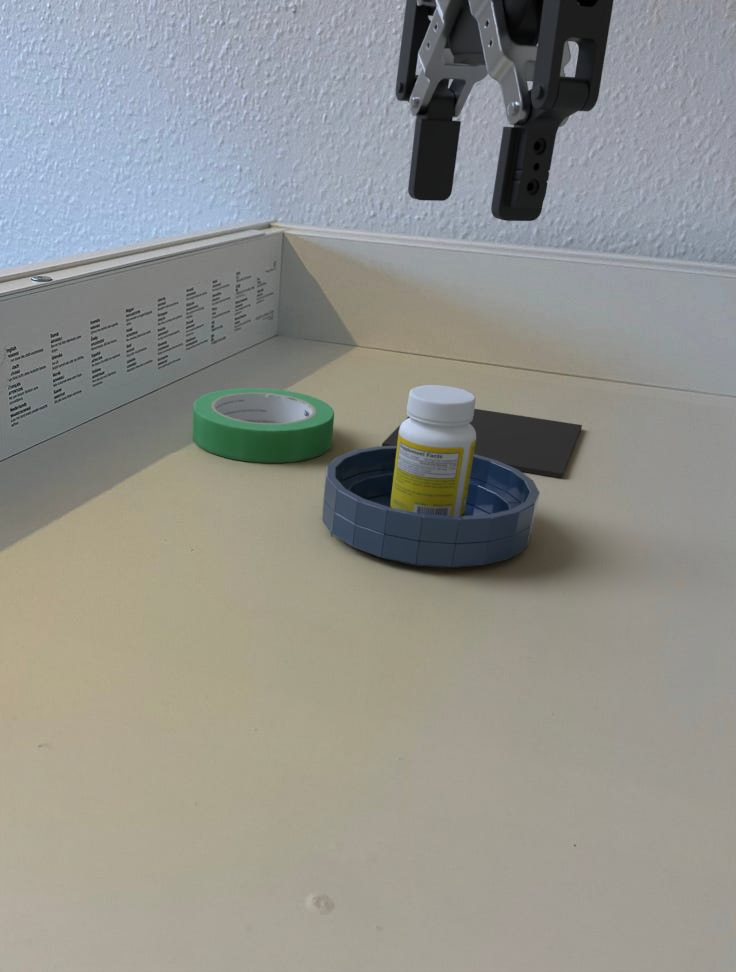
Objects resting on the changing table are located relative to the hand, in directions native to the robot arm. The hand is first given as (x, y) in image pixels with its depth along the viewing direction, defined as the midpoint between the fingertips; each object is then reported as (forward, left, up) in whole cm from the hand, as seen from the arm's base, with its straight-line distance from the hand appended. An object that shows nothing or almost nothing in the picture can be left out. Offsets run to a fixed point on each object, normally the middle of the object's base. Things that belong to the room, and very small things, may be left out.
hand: (468, 209), depth 48 cm
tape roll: (+17, -19, -20) cm, 32 cm away
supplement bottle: (+1, -7, -19) cm, 21 cm away
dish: (+1, -7, -20) cm, 21 cm away
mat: (+1, -29, -20) cm, 35 cm away
